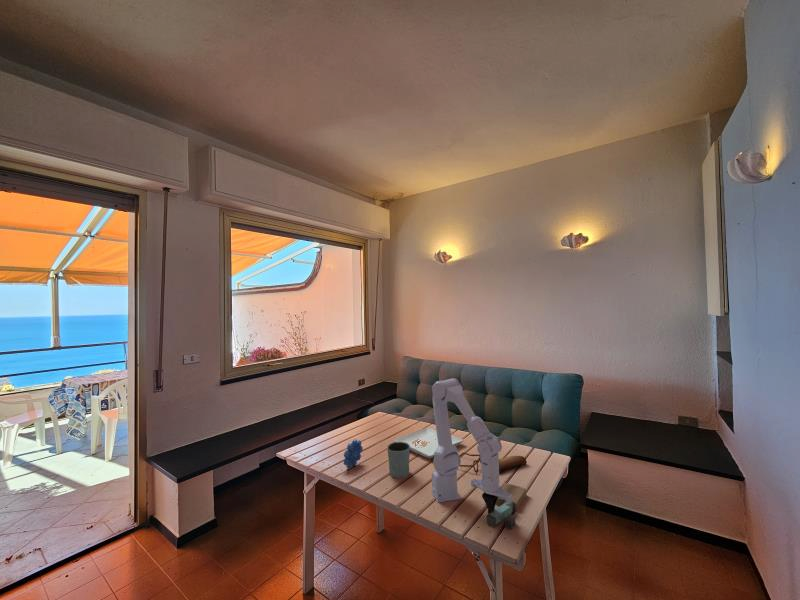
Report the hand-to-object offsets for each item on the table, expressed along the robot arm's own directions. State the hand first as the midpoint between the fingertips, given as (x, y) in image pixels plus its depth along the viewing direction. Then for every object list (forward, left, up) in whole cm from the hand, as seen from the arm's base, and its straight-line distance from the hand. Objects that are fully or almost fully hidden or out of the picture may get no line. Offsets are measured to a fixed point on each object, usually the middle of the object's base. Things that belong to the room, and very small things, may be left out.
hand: (491, 515), depth 108 cm
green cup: (-24, +38, -2) cm, 45 cm away
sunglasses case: (+24, +34, -2) cm, 41 cm away
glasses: (+8, +39, -2) cm, 40 cm away
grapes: (-44, +51, -2) cm, 68 cm away
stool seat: (+9, +5, -1) cm, 10 cm away
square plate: (-3, +64, -2) cm, 64 cm away
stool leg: (+3, 0, -1) cm, 4 cm away
